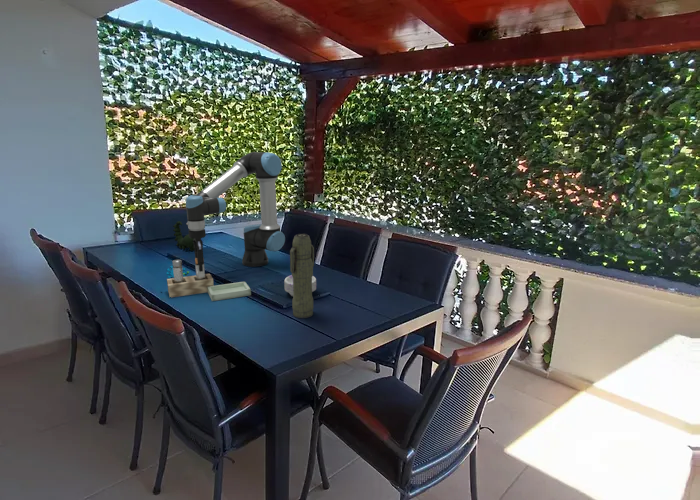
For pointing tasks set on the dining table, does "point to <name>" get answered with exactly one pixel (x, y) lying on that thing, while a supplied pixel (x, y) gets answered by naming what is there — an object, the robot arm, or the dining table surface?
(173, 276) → the teal spiky toy
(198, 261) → the robot arm
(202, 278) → the hitch pin
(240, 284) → the tray
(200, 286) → the block
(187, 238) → the toy figurine
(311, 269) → the thermos
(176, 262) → the grey capped shaker
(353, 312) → the dining table surface
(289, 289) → the paper bowls
